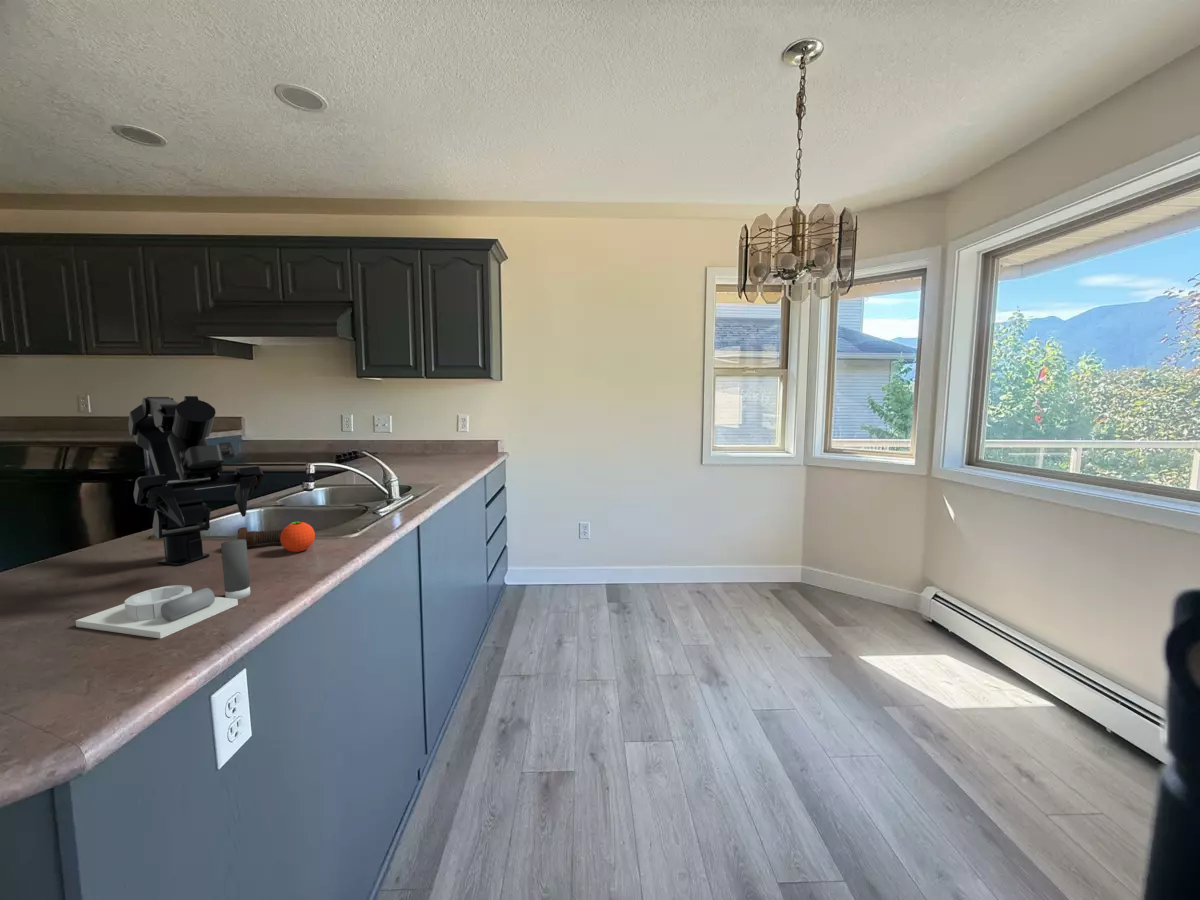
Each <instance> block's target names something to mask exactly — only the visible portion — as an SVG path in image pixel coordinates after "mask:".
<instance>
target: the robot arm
mask: <svg viewBox="0 0 1200 900" xmlns="http://www.w3.org/2000/svg"><path fill="white" fill-rule="evenodd" d="M215 417H216V409H215V407H214V406H212V405H211V404H210V403H208V402H206V401H203V400H200V399H199V397H198V396H197V395H184V398H183V400H182V401H180V402H177V401H176V400H175V399H174V398H173V397H169V396H146V397H142V400H141V404H140V405H139V406H136V408H134V409H132V410H131V411H130V412H129V416H128V431H129V432H128V433H129V435H130V437H131V436H133V439H134V441H135V444H136V445H137V446H139V447H140V448H142V449H143V450H146V451H147V452H148V454H149V458H150V460H151V464H152V466H153V467H152V468H153V470H154V473H155V475H154V474H153V475H142V476H138V477H137V478H136V479H135V483H134V488H133V489H134V490H133V499H134V503H135V505H136V506H139V507H141V506H146V507H147V508H148V509H152V508H153V509H156V510H154V513H153V514H154V515H153V519H152V520H153V521H152V530H153V535H154V536H155V537H156V538H158V539H163V548H164V549H163V551H164V558H162V559H160V560H157V564H164V565H174V566H182V565H185V564H188V563H193V562H195V561H198V560H200V559H201V560H202V559H204V558H209V557H210V556H211V555H210V553H205V552H204V548H203V539H202V536H201V533H202V532H204V531H209V529H211V527H210V519H211V514H212V513H211V512H212V509H210V508H209V507H208V504H207V503H204V500H203V498H202V496H201V493H200V490H205V489H212V488H213V489H214V488H222V487H228V486H229V487H230V486H232V488H233V491H235V492H234V494H233V495H234V498H235V502H236V505H237V508H238V510H239V514H240V515H241V516H242V517H246V515H247V509H248V507H247V506H248V499H249V498H248V496H249V495H251V494H252V493H253V492H254V491H256V490H259V487H260V485H261V482H262V480H263V478H264V474H265V473H264V472H263V469H262V467H260V466H259V465H247V466H238V467H236V469H235V470H234V473H233V474H228V475H220V473H221V472H222V471H223V465H222V463H224V462H225V461H231V460H233V458H235V450H234V447H233V444H232V442H231V441H227V442H219V444H210V445H209V443H208V440H207V438H209V437H210V436H211V432H212V428H213V424H214V421H215ZM242 517H241V518H242Z"/></svg>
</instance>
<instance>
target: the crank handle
mask: <svg viewBox="0 0 1200 900" xmlns="http://www.w3.org/2000/svg"><path fill="white" fill-rule="evenodd" d="M220 548H221V549H220V550H221V561H222V572H223V573H222V574H223V582H224V583H223V585H224V595H225V597H224V598H232V599H238V600H240V599H245V598H247V597H249V596H251V585H250V584H251V583H250V573H249V572H250V570H249V557H248V547H247V543H246V540H244V539H239V540H237V539H232V540H227V541H224V542H222V543H220Z"/></svg>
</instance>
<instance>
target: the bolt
mask: <svg viewBox="0 0 1200 900" xmlns="http://www.w3.org/2000/svg"><path fill="white" fill-rule="evenodd" d="M283 529H284V528H283ZM283 529H281V528H280V529H274V530H273V529H272V530H271V529H270V530H259V531H257V530H252V531H248V527H247V526H244V527H239V528H238V529H237V535H236V537H237V538H236V540H239V539H244V540H246V543H247V548H248V547H250V546H256V545H257V546H258V545H264V544H272V543H281V541H280V536H281V533H282V531H283Z"/></svg>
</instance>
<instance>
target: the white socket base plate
mask: <svg viewBox="0 0 1200 900" xmlns="http://www.w3.org/2000/svg"><path fill="white" fill-rule="evenodd" d="M238 600H239V599H232V598H225V597H223V596H222V597H221V596H215V593H214V591H213V590H212V589H211V588H209V587H204V588H201V589H199V590H196V591H193V588H192V586H190V585H185V584H176V585H166V586H161V587H157V588H156V587H155V588H152V589H147V590H144V591H141V592H138V593H136V594H135V593H134V594H131V596H129V597H128V598H126V599H125V600H124V603H122V604H119V605H116V606H112V607H110V608H107V609H105V610H102V611H99V612H96V613H94V614H90V615H88V616H84V617H82V618H78V619H76V620H75V627H76V628H83V629H90V630H98V631H103V632H111V633H119V634H126V635H133V636H140V637H146V638H147V637H148V638H155V639H161V640H162V639H163V638H166V637H167V636H170V635H173V634H174V633H177V632H179V631H181V630H184V629H185V628H188V627H190V626H193V625H196V624H198V623H200V622H202V621H205V620H206V619H208V618H211V617H213V616H215V615H217V614H220V613H222V612H225V611H227V610H229V609H231V608H234V607H236V606H238V605H239V601H238Z"/></svg>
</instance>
